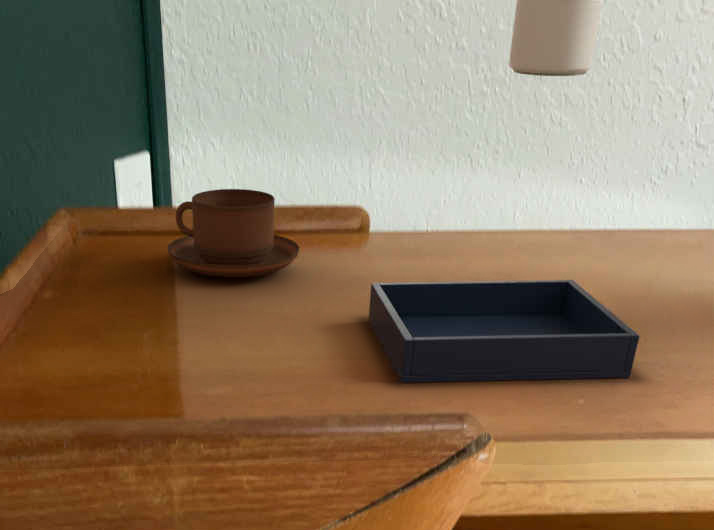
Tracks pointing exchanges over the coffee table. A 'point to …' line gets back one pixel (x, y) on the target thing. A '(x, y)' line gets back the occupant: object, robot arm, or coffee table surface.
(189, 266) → the cup and saucer
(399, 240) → the coffee table surface
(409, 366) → the tray
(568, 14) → the can
